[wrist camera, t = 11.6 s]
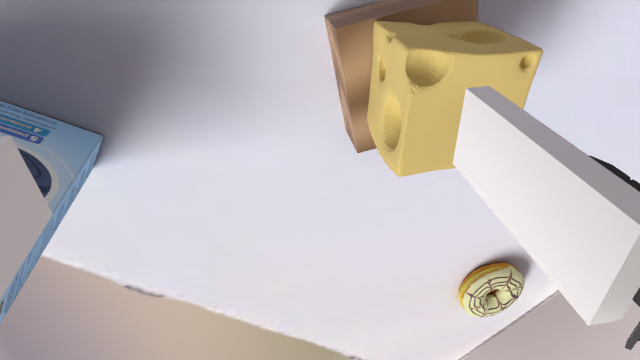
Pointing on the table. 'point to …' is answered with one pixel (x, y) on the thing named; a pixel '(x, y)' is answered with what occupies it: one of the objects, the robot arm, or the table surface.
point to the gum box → (47, 172)
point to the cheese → (438, 86)
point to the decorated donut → (490, 289)
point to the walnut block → (357, 50)
